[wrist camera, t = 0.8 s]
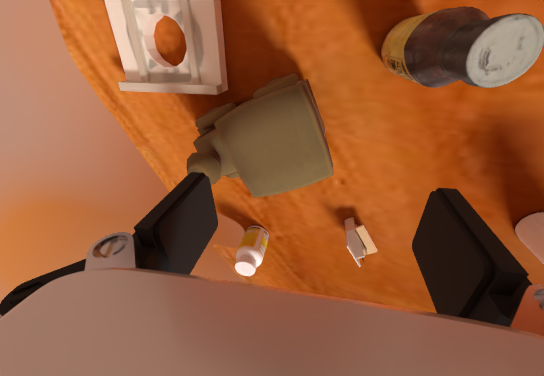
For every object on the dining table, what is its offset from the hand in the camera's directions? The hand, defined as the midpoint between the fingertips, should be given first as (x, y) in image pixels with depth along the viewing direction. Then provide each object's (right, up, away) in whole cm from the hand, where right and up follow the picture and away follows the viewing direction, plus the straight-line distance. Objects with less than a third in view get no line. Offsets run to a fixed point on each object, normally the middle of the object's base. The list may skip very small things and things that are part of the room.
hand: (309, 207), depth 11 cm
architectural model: (+15, -7, +38) cm, 41 cm away
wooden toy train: (-3, +12, +30) cm, 32 cm away
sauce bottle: (+16, +19, +21) cm, 33 cm away
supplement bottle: (-5, -9, +43) cm, 44 cm away
